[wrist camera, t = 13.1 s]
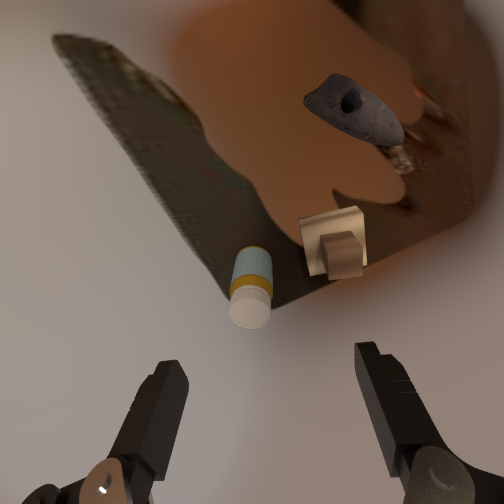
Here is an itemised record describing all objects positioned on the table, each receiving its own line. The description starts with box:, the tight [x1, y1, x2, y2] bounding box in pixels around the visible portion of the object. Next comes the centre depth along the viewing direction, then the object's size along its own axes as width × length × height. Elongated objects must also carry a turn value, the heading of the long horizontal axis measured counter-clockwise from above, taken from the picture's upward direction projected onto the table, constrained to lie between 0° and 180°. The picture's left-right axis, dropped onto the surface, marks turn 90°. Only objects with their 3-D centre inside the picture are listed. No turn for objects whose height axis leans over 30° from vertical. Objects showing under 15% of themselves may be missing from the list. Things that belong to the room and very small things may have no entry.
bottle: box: [229, 246, 273, 329], centre depth 42 cm, size 7×7×15 cm
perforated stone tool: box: [303, 73, 404, 147], centre depth 33 cm, size 15×5×7 cm, turn 62°
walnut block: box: [320, 230, 363, 280], centre depth 40 cm, size 5×5×6 cm
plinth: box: [298, 206, 367, 276], centre depth 44 cm, size 10×10×4 cm
